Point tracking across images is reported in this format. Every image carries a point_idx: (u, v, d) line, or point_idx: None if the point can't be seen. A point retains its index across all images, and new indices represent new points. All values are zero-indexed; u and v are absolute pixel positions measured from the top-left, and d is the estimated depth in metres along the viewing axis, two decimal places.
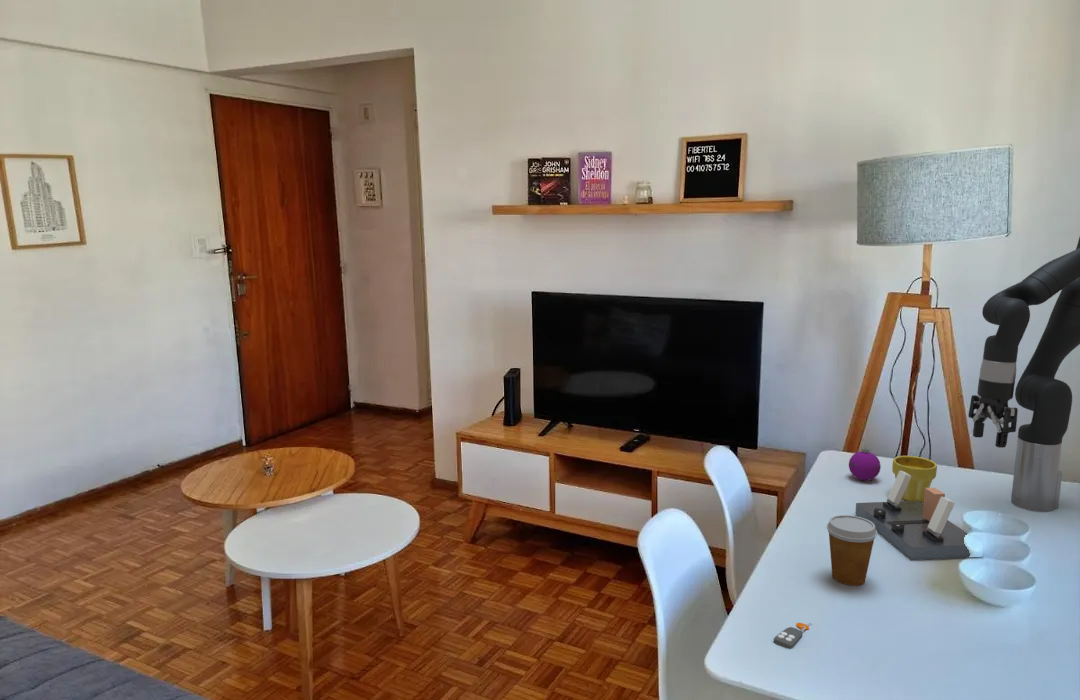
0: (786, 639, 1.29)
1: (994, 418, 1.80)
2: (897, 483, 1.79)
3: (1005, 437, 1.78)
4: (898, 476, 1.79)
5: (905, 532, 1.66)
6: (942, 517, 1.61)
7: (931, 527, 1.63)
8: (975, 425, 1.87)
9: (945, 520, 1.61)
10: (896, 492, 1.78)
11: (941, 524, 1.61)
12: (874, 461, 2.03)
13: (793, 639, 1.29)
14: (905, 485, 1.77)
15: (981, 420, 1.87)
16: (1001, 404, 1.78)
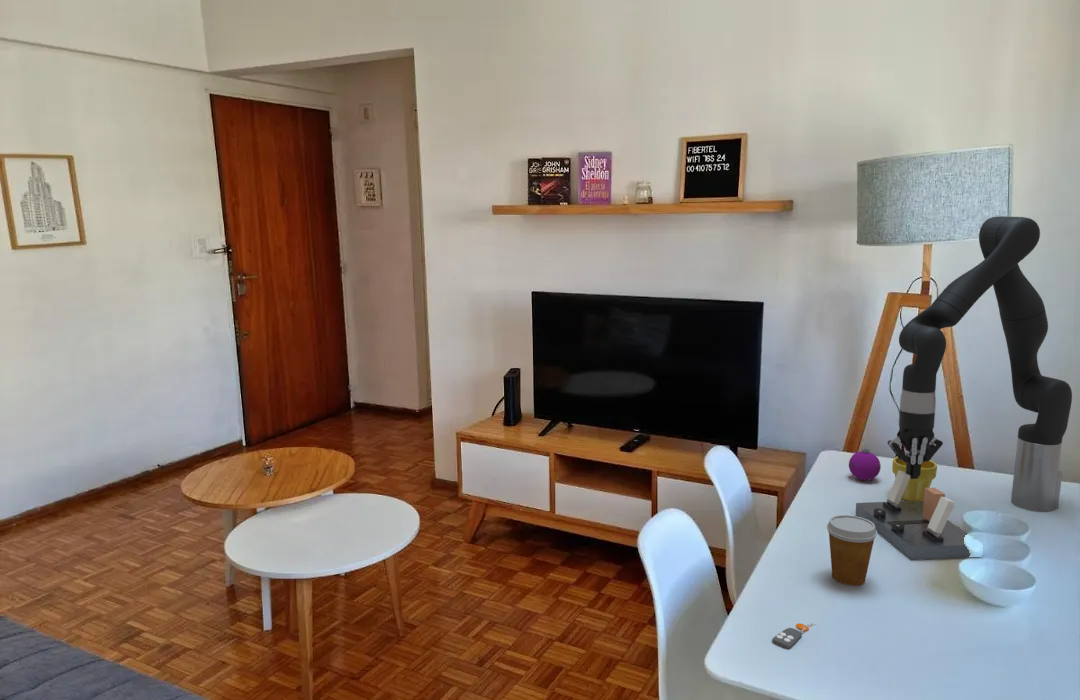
0: (784, 640, 1.29)
1: (924, 450, 1.76)
2: (896, 483, 1.79)
3: None
4: (897, 476, 1.79)
5: (905, 532, 1.66)
6: (942, 517, 1.61)
7: (931, 527, 1.63)
8: (914, 467, 1.77)
9: (945, 520, 1.61)
10: (896, 492, 1.78)
11: (941, 524, 1.61)
12: (874, 461, 2.03)
13: (792, 640, 1.29)
14: (904, 485, 1.77)
15: None
16: None
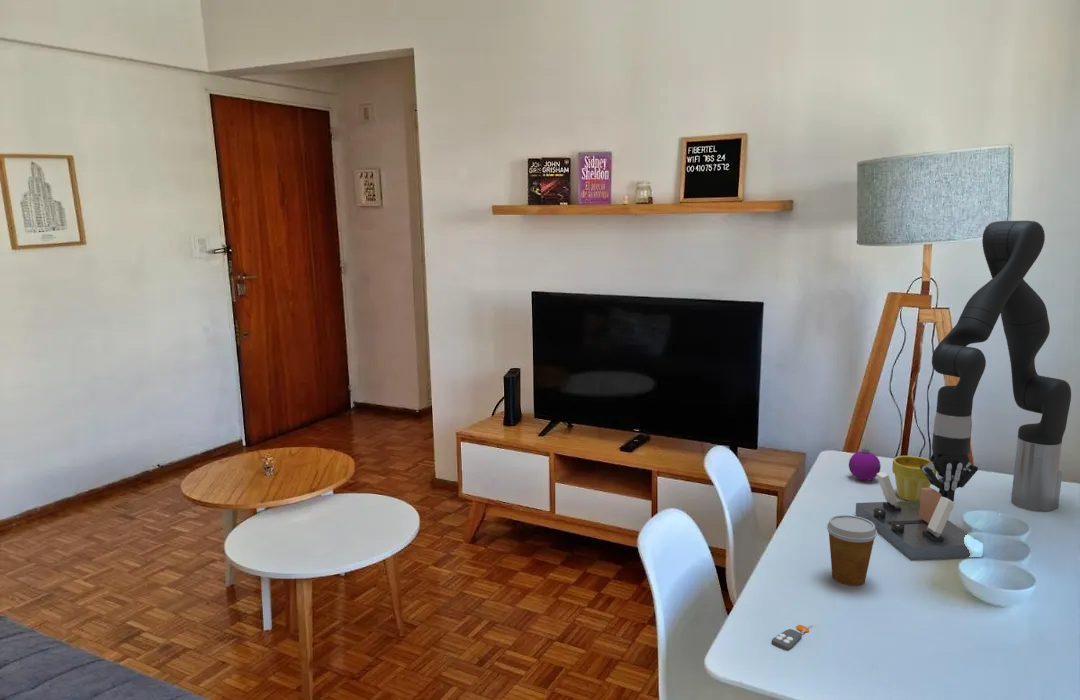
0: (784, 641, 1.28)
1: (958, 476, 1.68)
2: (883, 486, 1.79)
3: None
4: (879, 479, 1.79)
5: (905, 532, 1.66)
6: (942, 517, 1.61)
7: (931, 527, 1.63)
8: (948, 493, 1.69)
9: (945, 520, 1.61)
10: (888, 495, 1.78)
11: (941, 524, 1.61)
12: (874, 461, 2.03)
13: (791, 641, 1.28)
14: (889, 485, 1.77)
15: None
16: None
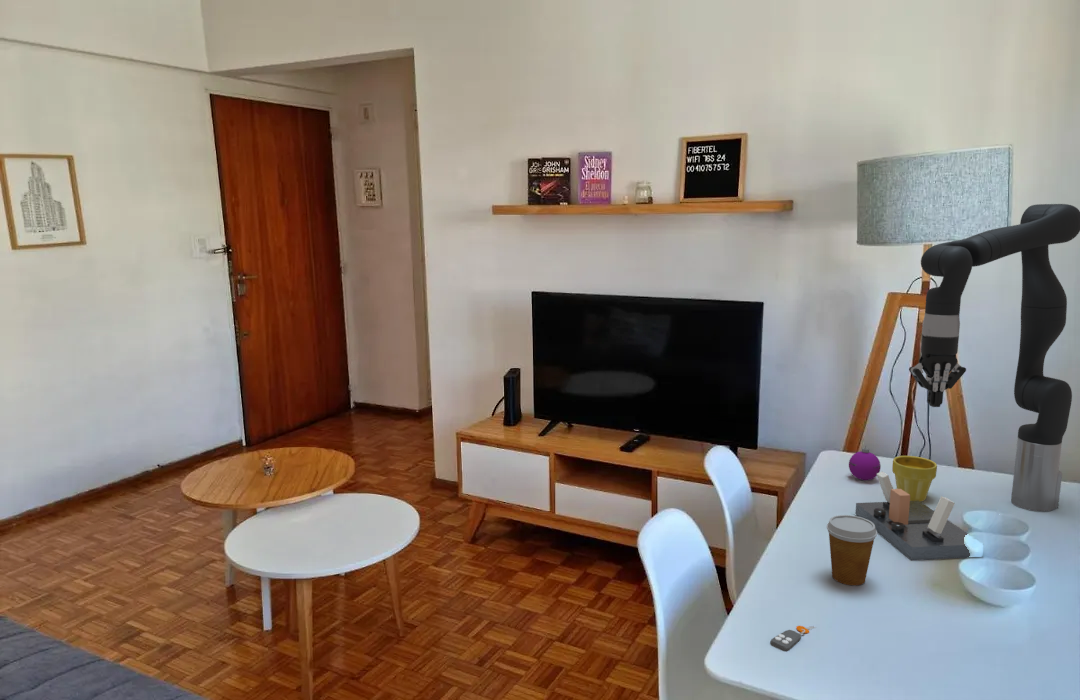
0: (783, 641, 1.28)
1: (946, 376, 1.70)
2: (883, 486, 1.79)
3: None
4: (879, 479, 1.79)
5: (905, 532, 1.66)
6: (942, 517, 1.61)
7: (931, 527, 1.63)
8: (936, 394, 1.71)
9: (945, 520, 1.61)
10: (888, 495, 1.78)
11: (941, 524, 1.61)
12: (873, 461, 2.03)
13: (790, 642, 1.28)
14: (889, 485, 1.77)
15: None
16: None
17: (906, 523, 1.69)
